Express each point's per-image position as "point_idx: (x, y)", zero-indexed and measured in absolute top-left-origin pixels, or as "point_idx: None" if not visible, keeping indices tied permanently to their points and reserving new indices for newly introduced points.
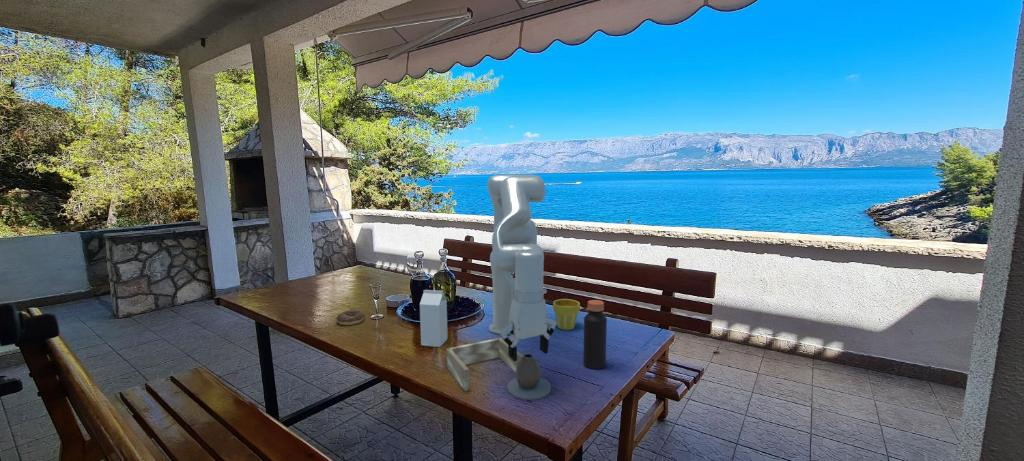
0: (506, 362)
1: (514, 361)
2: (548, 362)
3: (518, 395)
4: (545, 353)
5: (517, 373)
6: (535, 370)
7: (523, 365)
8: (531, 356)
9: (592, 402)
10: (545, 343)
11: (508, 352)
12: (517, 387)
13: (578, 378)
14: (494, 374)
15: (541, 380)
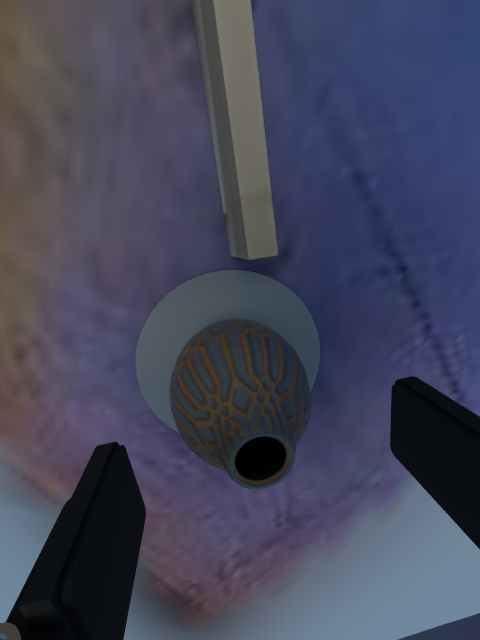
0: (202, 64)
1: (225, 171)
2: (414, 153)
3: (165, 420)
4: (394, 446)
5: (171, 410)
6: (265, 460)
7: (204, 458)
8: (277, 482)
9: (382, 482)
10: (467, 534)
11: (56, 525)
12: None
13: (436, 341)
14: (102, 178)
15: (299, 334)
